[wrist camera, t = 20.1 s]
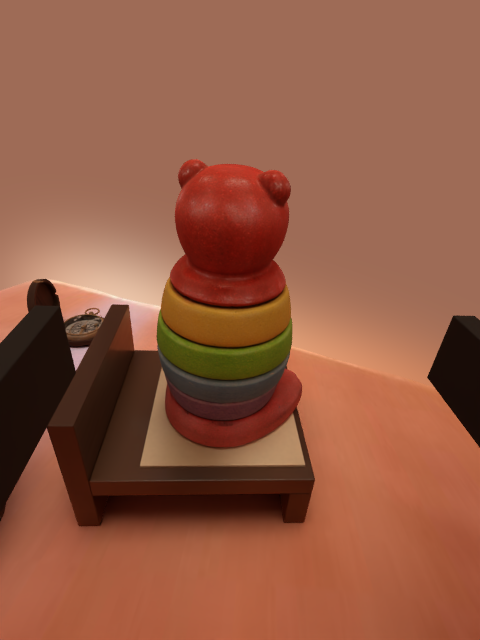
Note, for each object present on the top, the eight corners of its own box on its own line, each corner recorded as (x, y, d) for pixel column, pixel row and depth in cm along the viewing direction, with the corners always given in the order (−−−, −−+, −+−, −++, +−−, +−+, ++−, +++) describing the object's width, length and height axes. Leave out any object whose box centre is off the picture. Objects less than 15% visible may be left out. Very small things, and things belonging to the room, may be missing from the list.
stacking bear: (307, 386, 31) (352, 164, 22) (260, 478, 23) (298, 192, 14) (201, 348, 35) (201, 146, 26) (129, 416, 27) (91, 160, 18)
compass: (104, 347, 43) (95, 293, 39) (35, 347, 42) (18, 292, 38) (118, 314, 49) (112, 264, 46) (59, 313, 49) (47, 263, 45)
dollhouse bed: (277, 390, 38) (289, 308, 33) (304, 522, 26) (329, 426, 21) (124, 389, 37) (111, 304, 32) (78, 526, 25) (45, 426, 20)
